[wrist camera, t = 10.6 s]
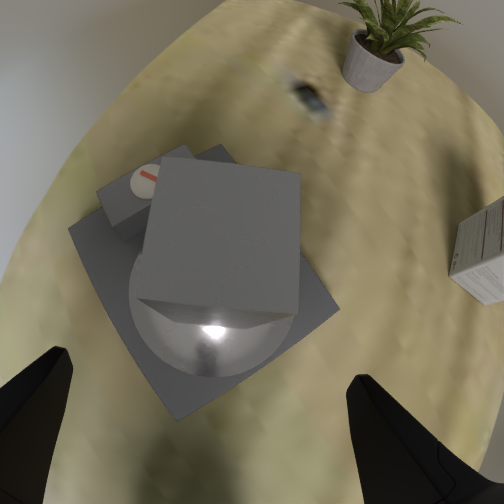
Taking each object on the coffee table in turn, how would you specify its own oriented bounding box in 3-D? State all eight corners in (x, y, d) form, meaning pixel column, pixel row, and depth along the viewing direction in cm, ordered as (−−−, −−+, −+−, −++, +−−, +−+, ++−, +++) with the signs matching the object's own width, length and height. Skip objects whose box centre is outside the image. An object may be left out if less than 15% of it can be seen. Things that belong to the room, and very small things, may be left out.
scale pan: (190, 405, 18) (189, 409, 17) (106, 267, 20) (101, 263, 18) (321, 315, 21) (327, 313, 20) (235, 192, 23) (237, 184, 22)
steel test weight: (245, 329, 19) (297, 313, 8) (174, 322, 18) (135, 297, 8) (250, 260, 20) (300, 173, 10) (182, 253, 20) (162, 156, 9)
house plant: (388, 58, 36) (434, -16, 21) (426, 124, 32) (496, 45, 17) (304, 40, 34) (340, -55, 18) (333, 108, 30) (398, -9, 14)
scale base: (178, 414, 19) (171, 435, 14) (77, 237, 22) (50, 210, 17) (329, 312, 23) (361, 303, 18) (219, 157, 26) (224, 117, 21)
